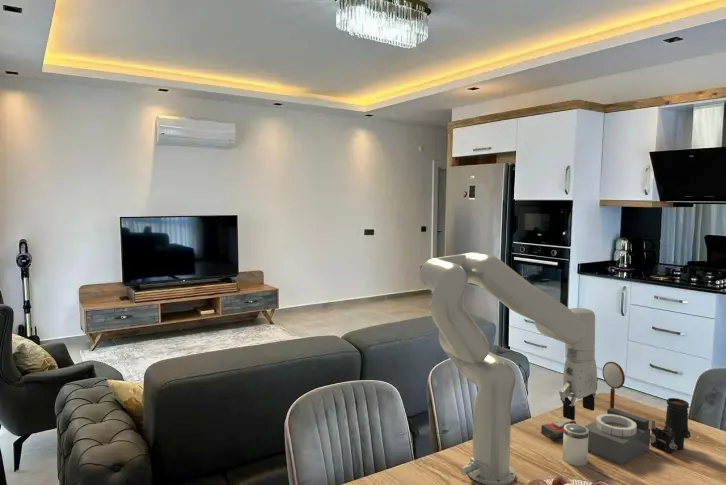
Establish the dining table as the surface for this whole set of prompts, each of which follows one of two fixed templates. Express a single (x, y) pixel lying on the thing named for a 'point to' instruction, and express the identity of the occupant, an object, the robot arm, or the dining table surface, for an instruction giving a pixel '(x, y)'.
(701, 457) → the dining table surface
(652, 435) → the scope
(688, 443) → the dining table surface
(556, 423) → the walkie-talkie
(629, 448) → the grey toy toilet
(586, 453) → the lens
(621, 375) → the magnifying glass
